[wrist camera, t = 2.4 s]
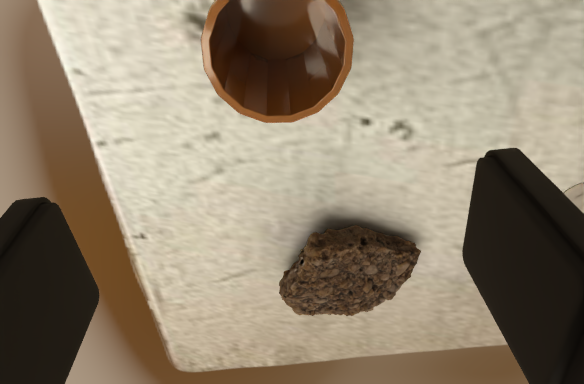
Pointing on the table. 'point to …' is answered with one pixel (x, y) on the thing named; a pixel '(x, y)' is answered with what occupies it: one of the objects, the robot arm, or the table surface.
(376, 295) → the concrete sample
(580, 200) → the chalice
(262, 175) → the table surface
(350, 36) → the glass
